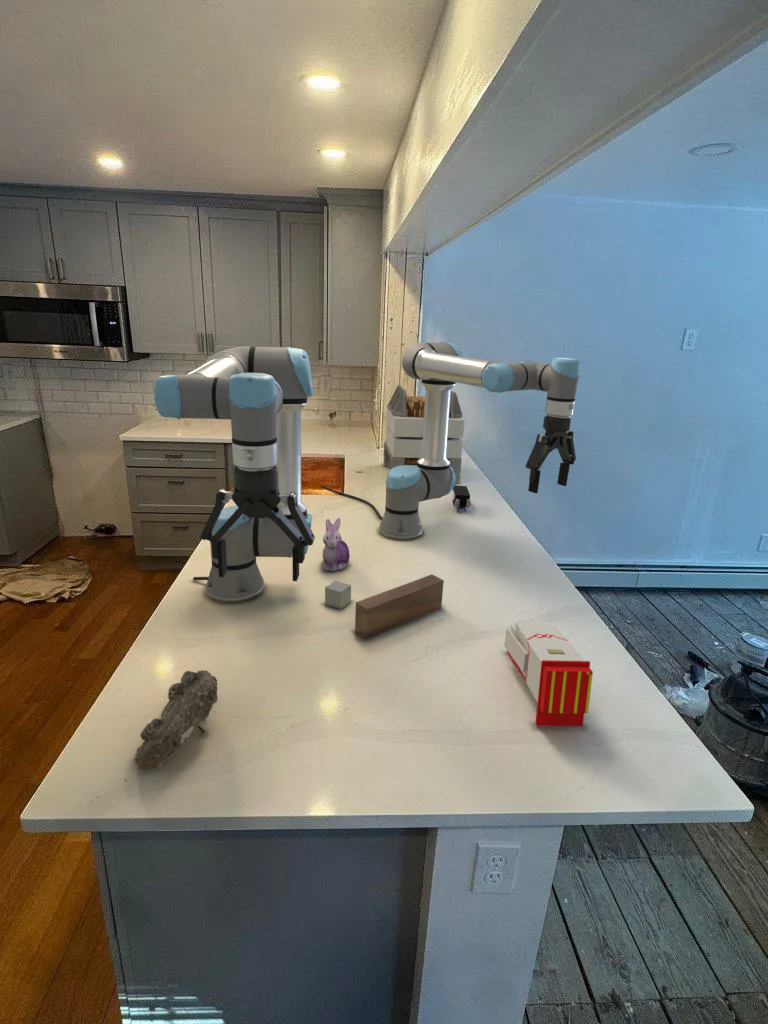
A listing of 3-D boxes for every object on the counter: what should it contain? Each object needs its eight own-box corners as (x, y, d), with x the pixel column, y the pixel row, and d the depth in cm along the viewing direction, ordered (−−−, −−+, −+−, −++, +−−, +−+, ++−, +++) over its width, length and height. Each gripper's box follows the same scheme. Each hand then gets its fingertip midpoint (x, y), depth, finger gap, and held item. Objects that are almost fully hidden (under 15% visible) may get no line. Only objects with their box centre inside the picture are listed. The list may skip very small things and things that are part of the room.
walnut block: (354, 631, 139) (355, 602, 136) (429, 600, 155) (432, 574, 152) (366, 639, 136) (367, 609, 133) (441, 607, 152) (443, 580, 149)
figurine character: (470, 516, 223) (465, 500, 237) (473, 499, 220) (467, 484, 233) (453, 516, 223) (449, 500, 236) (455, 498, 220) (451, 483, 233)
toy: (550, 607, 134) (601, 667, 105) (545, 659, 137) (594, 732, 108) (499, 606, 134) (537, 666, 104) (495, 659, 137) (530, 731, 107)
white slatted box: (382, 463, 289) (386, 382, 275) (445, 464, 293) (451, 384, 279) (390, 482, 257) (394, 392, 243) (460, 483, 261) (468, 394, 247)
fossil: (167, 671, 114) (219, 638, 109) (200, 702, 116) (252, 671, 112) (109, 762, 94) (169, 727, 89) (151, 796, 97) (212, 765, 92)
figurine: (327, 574, 167) (327, 527, 162) (315, 561, 175) (315, 515, 170) (356, 569, 171) (357, 523, 166) (343, 556, 179) (343, 511, 174)
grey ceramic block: (324, 604, 151) (325, 587, 149) (335, 596, 155) (335, 580, 153) (340, 609, 149) (340, 592, 147) (350, 601, 153) (351, 584, 151)
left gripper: (175, 468, 94) (185, 581, 102) (324, 475, 94) (323, 589, 102) (191, 456, 102) (199, 563, 109) (330, 463, 101) (329, 570, 109)
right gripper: (541, 421, 147) (530, 498, 155) (595, 414, 162) (583, 485, 169) (518, 416, 153) (509, 491, 160) (573, 410, 168) (562, 479, 175)
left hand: (259, 576), depth 105 cm, fingers open, 13 cm apart
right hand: (547, 488), depth 165 cm, fingers open, 13 cm apart
